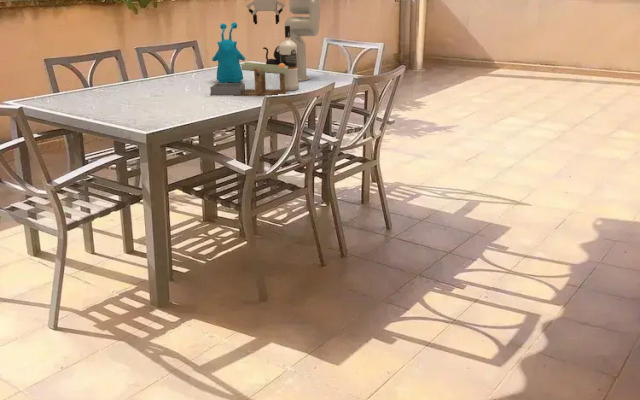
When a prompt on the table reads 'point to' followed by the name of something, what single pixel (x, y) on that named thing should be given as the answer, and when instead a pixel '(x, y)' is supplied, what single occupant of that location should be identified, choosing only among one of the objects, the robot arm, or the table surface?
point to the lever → (264, 68)
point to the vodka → (289, 61)
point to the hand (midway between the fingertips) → (266, 24)
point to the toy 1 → (228, 58)
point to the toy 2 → (276, 56)
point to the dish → (228, 89)
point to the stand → (264, 86)
